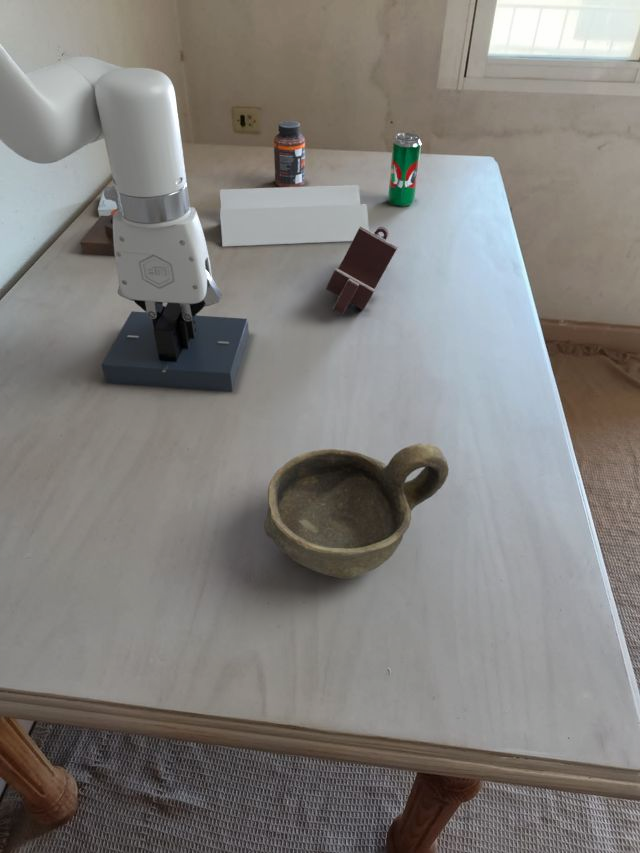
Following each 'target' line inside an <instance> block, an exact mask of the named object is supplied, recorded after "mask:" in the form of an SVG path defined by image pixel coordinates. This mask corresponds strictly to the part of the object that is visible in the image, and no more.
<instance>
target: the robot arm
mask: <svg viewBox="0 0 640 853" xmlns="http://www.w3.org/2000/svg"><path fill="white" fill-rule="evenodd" d="M181 135H182V134H181V128H180V119H179V114H178V105H177V97H176V91H175V88H174V85H173V82H172V80H171V79H170V78H169V76H168V75H166V74H165V73H164V72H162V71H160V70H157V69H153V68H148V67H122V66H119V65H117V64H112V63H109V62H107V61H104V60H102V59H99V58H95V57H91V56H85V55H76V56H70V57H67V58H64V59H62V60H59V61H56V62H55V63H52V64H48V65H45V66H42V67H40V68H37V69H35V70H31V71H29V72H27V73H25V72H24V71H23V70H22V69H21V68H20V66H19V65H18V64H17V63H16V62H15V60H14V59H13V58H12V56H10V54H9V53H8V52H7V51H6V49H5V48H4V46H3V45H2V44H1V43H0V141H1V142H2V144H4V145H5V146H6V147H7V148H8V149H9V150H11V151H13V153H15V154H16V155H18V156H19V157H21V158H23V159H24V160H27V161H29V162H33V163H35V164H41V165H42V164H44V165H46V164H53V163H56V162H58V161H61V160H63V159H65V158H66V157H68V156H70V155H73V153H76V152H77V151H79V150H81V149H82V148H84V147H86V146H88V145H90V144H93V143H96V142H98V141H100V140H104V143H105V148H106V152H107V157H108V163H109V167H110V172H111V176H112V181H113V185H111V186H105V187H104V188H103V192H104V197H105V199H106V200H112V201H115V202H116V205H117V211H116V212H115V213H114V215H113V241H114V253H115V256H114V261H115V267H116V268H115V269H116V275H117V280H118V288H117V294H118V296H120V297H121V298H125V299H127V300H128V301H131V302H133V303H134V304H136V305H137V306H138V307H139V308H141V309H142V310H143V311H144V312H147V316H148V317H149V318H151V319H152V321H153V326H154V328H155V326H156V324H157V322H158V320H159V318H160V317H161V315H162V313H163V311H164V309H165V307H166V305H164V303H166V304H167V303H180V308H181V313H182V314H181V319H180V321H179V326H180V332H181V339H182V345H183V347H184V348H189V346H190V344H191V342H192V340H193V339H195V338H196V336H197V325H196V318H195V315H196V316H197V314H198V313H200V312H201V311H202V310H203V309H204V308H206V307H209V306H212V305H215V304H218V303H219V302H220V301H221V298H222V296H223V295H222V292H221V290H220V289H219V287H218V285H217V283H216V282H215V280H214V279H213V277H212V266H211V261H210V255H209V251H208V246H207V242H206V238H205V234H204V230H203V226H202V224H201V221H200V218H199V215H198V212H197V210H196V208H195V207H194V206H191V203H190V196H189V188H188V182H187V174H186V166H185V159H184V150H183V142H182V136H181Z"/></svg>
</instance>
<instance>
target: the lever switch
mask: <svg viewBox="0 0 640 853" xmlns="http://www.w3.org/2000/svg"><path fill="white" fill-rule="evenodd" d="M195 318H196V325H197V336H196V338H195V339H193V340H192V342H191V344H190V346H189V348H184V347H183V349H182V351H181V353H180V355H179V358H178V360H177V362H174V361H161V360H159V356H158V351H157V346H156V340H155V335H154V326H153V321H152V319H151V318H149V317H148V316H147V312H146V311H131V312H130V313H129V315H128V317H127V318H126V320H125V322H124V324H123V325H122V328H121V329H120V331H119V332H118V334H117V336H116V338H115V340H114V342H113V344H112V345H111V347H110V349H109V350H108V352H107V354H106V355H105V357H104V359H103V361H102V363H101V364H100V365H101V368H102V373H103V377H104V379H105V383H106V384H111V385H112V384H113V385H128V386H143V387H154V388H155V387H156V388H170V389H171V388H172V389H183V390H184V389H185V390H198V391H210V392H211V391H213V392H224V393H225V392H226V393H227V392H228V393H233V392H234V388H235V384H236V381H237V378H238V375H239V372H240V369H241V365H242V361H243V358H244V356H245V352H246V348H247V344H248V342H249V338H250V332H249V331H250V330H249V319H248V318H242V317H241V318H240V317H225V316H212V315H211V316H210V315H197V314H196V315H195Z"/></svg>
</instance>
